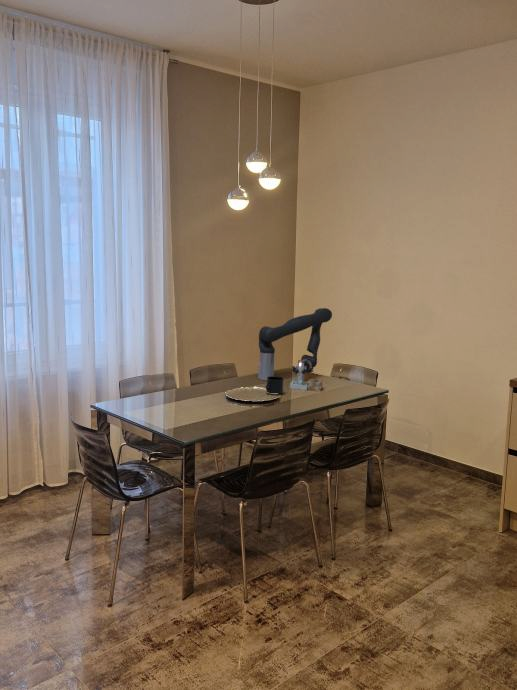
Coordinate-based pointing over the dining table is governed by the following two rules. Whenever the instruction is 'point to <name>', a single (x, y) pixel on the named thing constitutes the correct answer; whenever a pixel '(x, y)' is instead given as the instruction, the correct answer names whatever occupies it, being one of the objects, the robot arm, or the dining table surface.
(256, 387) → the dining table surface
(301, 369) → the cylinder
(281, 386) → the mug
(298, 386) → the tray
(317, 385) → the block
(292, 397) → the dining table surface
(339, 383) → the dining table surface
